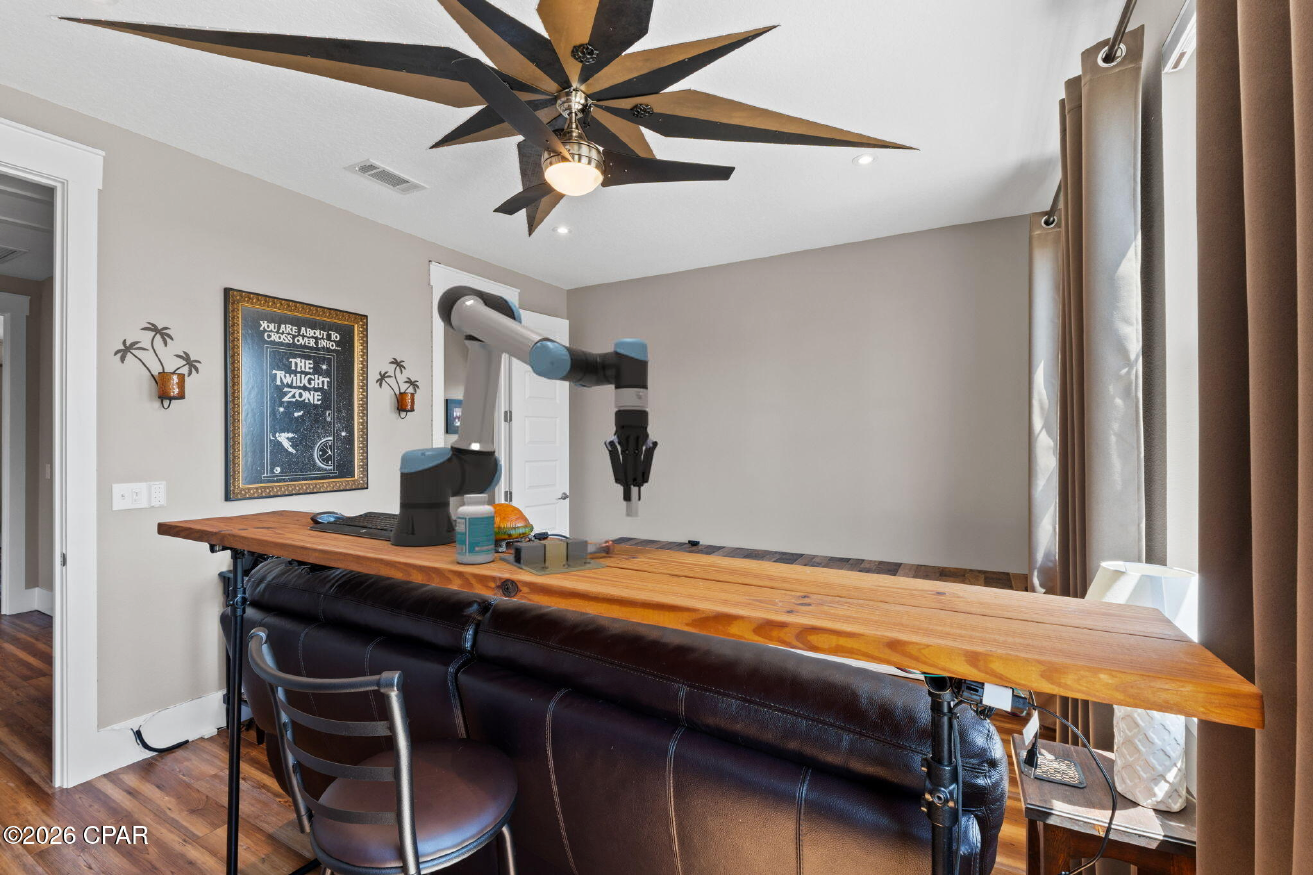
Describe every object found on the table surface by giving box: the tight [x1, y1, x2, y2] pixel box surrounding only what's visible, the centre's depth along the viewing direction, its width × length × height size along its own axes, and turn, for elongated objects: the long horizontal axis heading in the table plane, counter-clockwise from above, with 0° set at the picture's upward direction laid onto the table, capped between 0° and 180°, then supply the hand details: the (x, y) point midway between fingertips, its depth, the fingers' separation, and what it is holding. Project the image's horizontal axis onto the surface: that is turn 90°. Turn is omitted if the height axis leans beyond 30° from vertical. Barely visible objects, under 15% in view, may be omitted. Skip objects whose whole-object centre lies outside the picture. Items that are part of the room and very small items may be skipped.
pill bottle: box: [455, 494, 496, 565], centre depth 118 cm, size 8×7×14 cm
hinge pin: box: [588, 539, 616, 556], centre depth 120 cm, size 3×15×3 cm, turn 125°
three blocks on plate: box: [498, 537, 607, 576], centre depth 116 cm, size 20×14×4 cm
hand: (632, 516), depth 127 cm, fingers closed
